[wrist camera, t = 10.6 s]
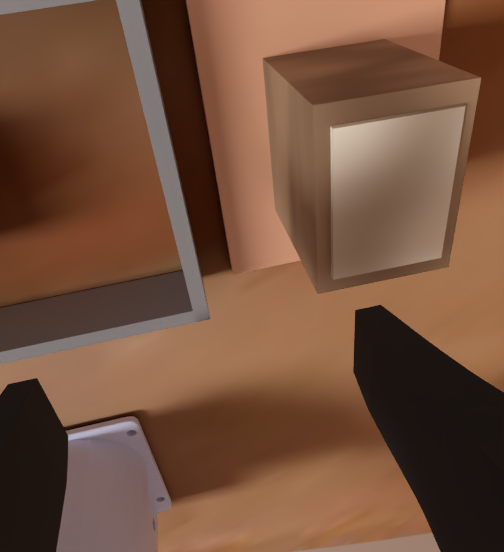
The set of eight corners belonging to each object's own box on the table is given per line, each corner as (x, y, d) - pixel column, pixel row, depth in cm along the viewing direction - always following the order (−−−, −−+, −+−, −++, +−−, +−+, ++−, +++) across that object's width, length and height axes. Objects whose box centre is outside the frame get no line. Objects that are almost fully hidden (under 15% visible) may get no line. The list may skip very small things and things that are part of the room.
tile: (415, 231, 23) (419, 235, 22) (231, 269, 22) (233, 274, 22) (448, -80, 16) (454, -80, 15) (178, -40, 15) (179, -40, 15)
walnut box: (384, 39, 17) (485, 79, 12) (375, 190, 21) (451, 270, 16) (262, 57, 17) (315, 107, 12) (275, 209, 20) (319, 297, 15)
